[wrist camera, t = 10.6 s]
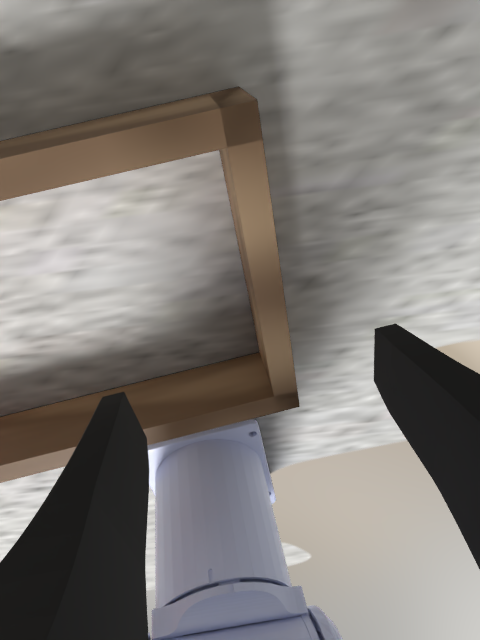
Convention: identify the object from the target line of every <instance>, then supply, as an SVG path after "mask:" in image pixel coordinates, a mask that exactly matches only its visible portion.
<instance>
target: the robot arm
mask: <svg viewBox="0 0 480 640" xmlns="http://www.w3.org/2000/svg"><path fill="white" fill-rule="evenodd" d="M374 382H375V384H376V386H377V388H378V390H379V392H380V394H381V397H382V399H383V401H384V403H385V405H386V407H387V409H388V411H389V412H390V414H391V416H392V417H393V419H394V420H395V422H396V423H397V425H398V426H399V428H400V430H401V431H402V433H403V434H404V436H405V437H406V439H407V440H408V442H409V443H410V445H411V447H412V448H413V450H414V451H415V453H416V454H417V455H418V457H419V458H420V460H421V462H422V463H423V465H424V466H425V468H426V469H427V471H428V473H429V474H430V476H431V477H432V479H433V480H434V482H435V484H436V485H437V487H438V489H439V491H440V492H441V494H442V496H443V498H444V500H445V502H446V503H447V505H448V507H449V509H450V511H451V513H452V515H453V517H454V519H455V521H456V523H457V524H458V527H459V529H460V531H461V533H462V535H463V536H464V539H465V541H466V543H467V545H468V547H469V549H470V551H471V553H472V555H473V557H474V559H475V561H476V563H477V565H478V567H479V569H480V374H478V373H476V372H475V371H473V370H471V369H469V368H467V367H466V366H464V365H462V364H460V363H459V362H457V361H455V360H453V359H452V358H450V357H449V356H447V355H445V354H444V353H442V352H440V351H439V350H437V349H435V348H434V347H432V346H431V345H429V344H427V343H426V342H424V341H423V340H421V339H419V338H418V337H416V336H415V335H413V334H412V333H410V332H408V331H407V330H405V329H404V328H402V327H400V326H399V325H397V324H392V325H388V326H384V327H380V328H376V329H375V347H374ZM252 431H253V432H252ZM149 485H150V487H151V489H152V491H153V493H154V494H155V562H156V608H155V609H153V610H152V640H343V639H342V637H341V635H340V633H339V631H338V629H337V627H336V626H335V624H334V623H333V621H332V620H331V619H330V618H328V617H327V616H326V615H325V613H324V612H323V611H322V610H321V609H320V608H319V607H317V606H306V602H305V598H304V594H303V591H302V587H301V586H294V587H292V585H291V582H290V577H289V573H288V569H287V565H286V561H285V557H284V553H283V549H282V545H281V541H280V536H279V533H278V528H277V525H276V520H275V517H274V512H273V508H272V504H273V503H274V502H275V501H276V498H275V493H274V489H273V485H272V480H271V476H270V472H269V467H268V463H267V459H266V455H265V450H264V446H263V442H262V437H261V433H260V429H259V425H258V422H257V421H256V420H253V419H250V420H246V421H242V422H238V423H234V424H230V425H226V426H222V427H218V428H214V429H210V430H206V431H202V432H198V433H194V434H191V435H187V436H183V437H179V438H175V439H171V440H167V441H163V442H159V443H155V444H151V445H147V437H146V435H145V433H144V431H143V429H142V427H141V425H140V423H139V421H138V419H137V417H136V415H135V413H134V411H133V409H132V407H131V405H130V403H129V401H128V398H127V396H126V394H125V392H120V393H116V394H112V395H108V396H104V397H102V399H101V400H100V402H99V404H98V406H97V408H96V410H95V412H94V414H93V416H92V418H91V420H90V422H89V424H88V426H87V428H86V429H85V431H84V433H83V435H82V437H81V439H80V441H79V443H78V445H77V447H76V448H75V450H74V452H73V454H72V456H71V457H70V459H69V461H68V463H67V465H66V467H65V468H64V470H63V472H62V473H61V475H60V477H59V478H58V480H57V482H56V483H55V485H54V487H53V488H52V490H51V492H50V493H49V495H48V496H47V498H46V500H45V501H44V503H43V504H42V506H41V507H40V509H39V510H38V512H37V513H36V515H35V516H34V518H33V519H32V521H31V522H30V524H29V525H28V527H27V528H26V529H25V531H24V532H23V534H22V535H21V536H20V538H19V539H18V541H17V542H16V543H15V545H14V546H13V547H12V548H11V550H10V551H9V552H8V554H7V555H6V556H5V557H4V559H3V560H2V561H1V563H0V640H151V638H150V633H148V622H147V605H146V579H145V550H146V531H147V513H148V493H149Z"/></svg>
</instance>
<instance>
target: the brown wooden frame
mask: <svg viewBox="0 0 480 640" xmlns="http://www.w3.org/2000/svg"><path fill="white" fill-rule="evenodd" d="M216 150H219V151H220V156H221V161H222V166H223V171H224V176H225V181H226V186H227V191H228V196H229V201H230V206H231V211H232V216H233V221H234V226H235V231H236V236H237V241H238V246H239V251H240V256H241V261H242V266H243V271H244V276H245V281H246V286H247V291H248V296H249V301H250V306H251V311H252V316H253V321H254V326H255V331H256V337H257V342H258V347H259V353H255V354H251V355H247V356H243V357H239V358H235V359H231V360H227V361H223V362H219V363H215V364H211V365H207V366H203V367H199V368H195V369H191V370H187V371H183V372H179V373H175V374H171V375H167V376H163V377H159V378H155V379H151V380H147V381H143V382H139V383H135V384H131V385H127V386H123V387H119V388H115V389H110V390H106V391H102V392H98V393H94V394H90V395H86V396H82V397H78V398H74V399H70V400H66V401H62V402H58V403H54V404H50V405H46V406H42V407H38V408H34V409H30V410H26V411H22V412H18V413H14V414H10V415H6V416H2V417H0V483H1V482H5V481H9V480H13V479H17V478H21V477H25V476H29V475H33V474H37V473H41V472H45V471H49V470H53V469H56V468H60V467H64V466H66V465H67V463H68V461H69V459H70V457H71V456H72V454H73V452H74V450H75V448H76V447H77V445H78V443H79V441H80V439H81V437H82V435H83V433H84V431H85V429H86V428H87V426H88V424H89V422H90V420H91V418H92V416H93V414H94V412H95V410H96V408H97V406H98V404H99V402H100V400H101V399H102V397H104V396H108V395H112V394H116V393H120V392H125V394H126V396H127V398H128V401H129V403H130V405H131V407H132V409H133V411H134V413H135V415H136V417H137V419H138V421H139V423H140V425H141V427H142V429H143V431H144V433H145V435H146V437H147V445H151V444H155V443H159V442H163V441H166V440H170V439H174V438H178V437H182V436H186V435H190V434H194V433H198V432H202V431H206V430H210V429H214V428H217V427H221V426H225V425H229V424H233V423H237V422H241V421H245V420H249V419H253V418H257V417H261V416H265V415H269V414H272V413H276V412H280V411H284V410H288V409H292V408H296V407H299V399H298V392H297V385H296V378H295V370H294V363H293V356H292V349H291V342H290V334H289V327H288V320H287V313H286V305H285V298H284V291H283V284H282V276H281V269H280V262H279V255H278V247H277V240H276V233H275V226H274V218H273V211H272V204H271V197H270V189H269V182H268V175H267V168H266V160H265V153H264V146H263V139H262V131H261V124H260V117H259V110H258V102H257V99H255V98H254V97H253V96H251V95H250V94H248V93H247V92H246V91H244V90H243V89H241V88H240V87H235V88H231V89H227V90H222V91H218V92H214V93H209V94H205V95H200V96H196V97H192V98H187V99H183V100H179V101H174V102H170V103H165V104H161V105H157V106H152V107H148V108H144V109H139V110H135V111H130V112H126V113H122V114H117V115H113V116H109V117H104V118H100V119H95V120H91V121H87V122H82V123H78V124H74V125H69V126H65V127H60V128H56V129H52V130H47V131H43V132H39V133H34V134H30V135H25V136H21V137H17V138H12V139H8V140H4V141H0V201H2V200H6V199H10V198H15V197H19V196H23V195H28V194H32V193H36V192H40V191H45V190H49V189H53V188H58V187H62V186H66V185H70V184H75V183H79V182H83V181H88V180H92V179H96V178H101V177H105V176H109V175H113V174H118V173H122V172H126V171H131V170H135V169H139V168H143V167H148V166H152V165H156V164H161V163H165V162H169V161H173V160H178V159H182V158H186V157H191V156H195V155H199V154H203V153H208V152H212V151H216Z"/></svg>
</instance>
